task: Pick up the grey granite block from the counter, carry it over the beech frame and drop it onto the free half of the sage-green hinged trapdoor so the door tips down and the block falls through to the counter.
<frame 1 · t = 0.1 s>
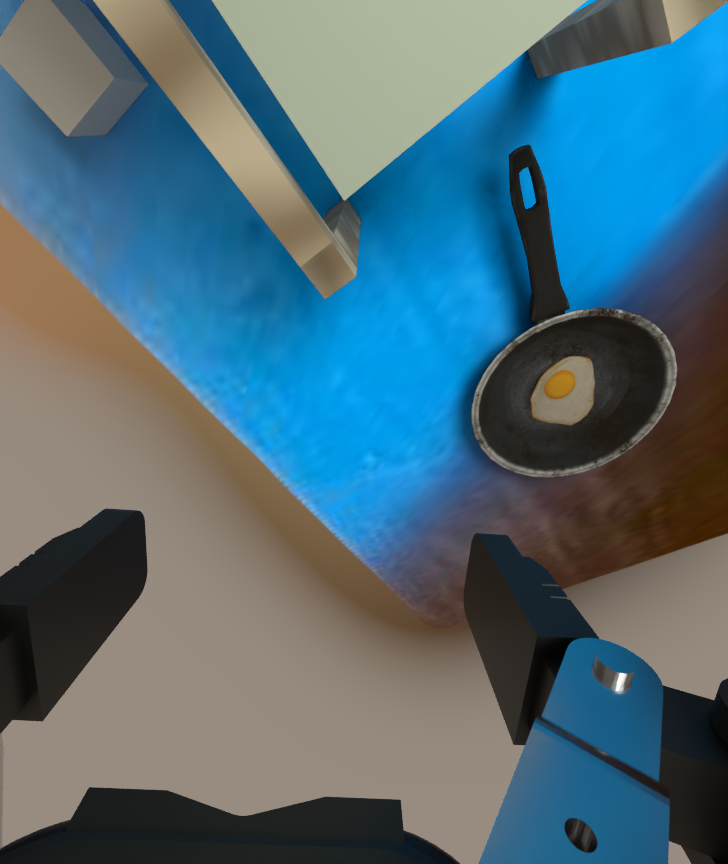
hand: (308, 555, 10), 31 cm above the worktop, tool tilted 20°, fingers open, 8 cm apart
frame: (364, 3, 27), on the worktop
frying pan: (545, 331, 40), on the worktop
cube: (96, 73, 30), on the worktop
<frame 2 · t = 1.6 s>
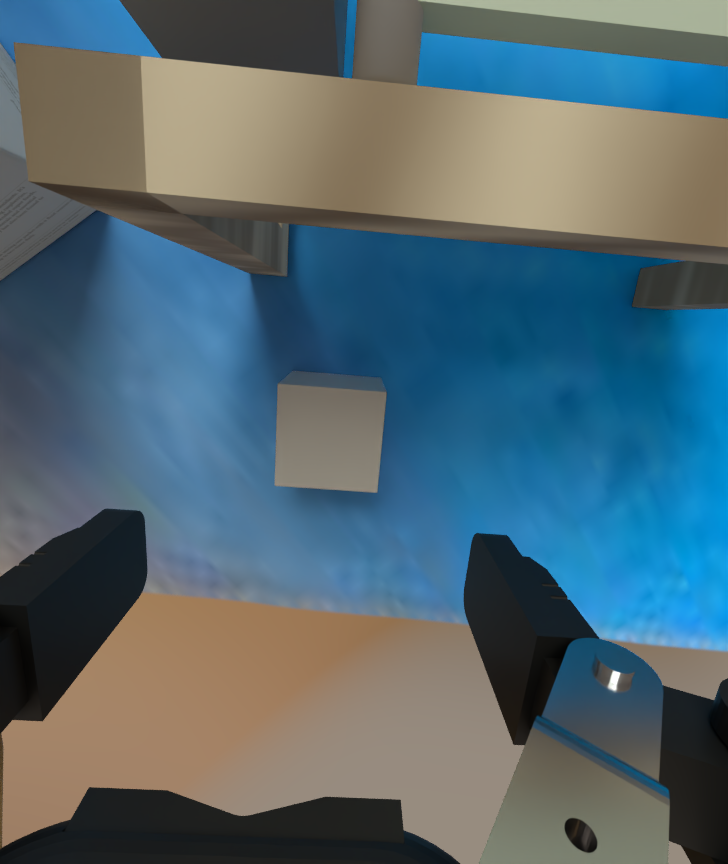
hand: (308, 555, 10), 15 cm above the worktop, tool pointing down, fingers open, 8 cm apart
frame: (519, 91, 21), on the worktop
cube: (334, 416, 25), on the worktop
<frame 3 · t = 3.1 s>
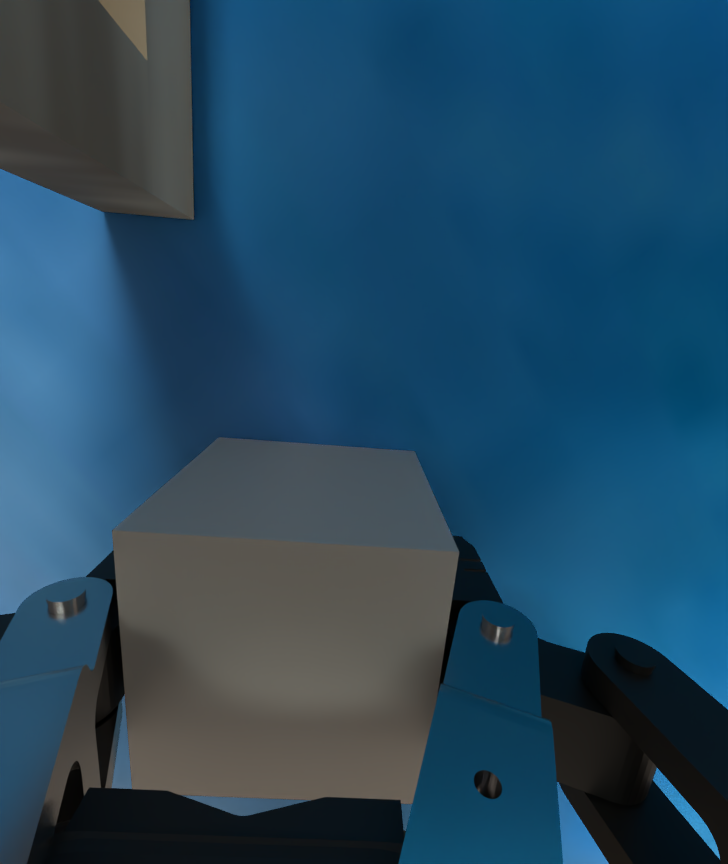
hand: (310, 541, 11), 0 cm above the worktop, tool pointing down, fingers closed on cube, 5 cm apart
cube: (313, 531, 12), on the worktop, touching gripper
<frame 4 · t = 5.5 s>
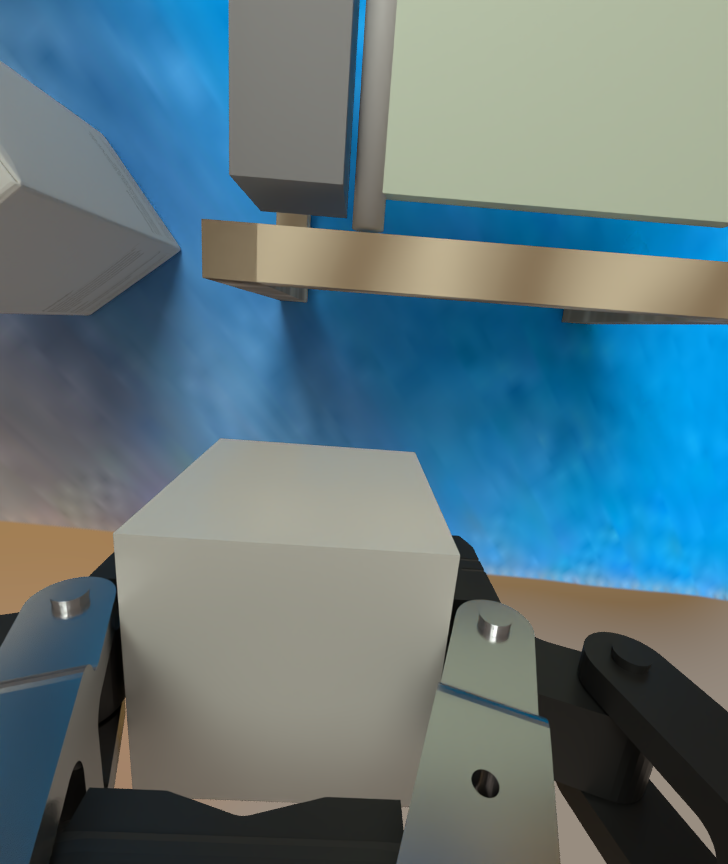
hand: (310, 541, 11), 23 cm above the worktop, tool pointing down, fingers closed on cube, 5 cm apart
frame: (472, 171, 29), on the worktop
trapdoor: (499, 42, 16), point 14 cm above the worktop, hinge at 0.0°
supplement box: (96, 229, 30), on the worktop
cube: (313, 533, 12), point 22 cm above the worktop, touching gripper
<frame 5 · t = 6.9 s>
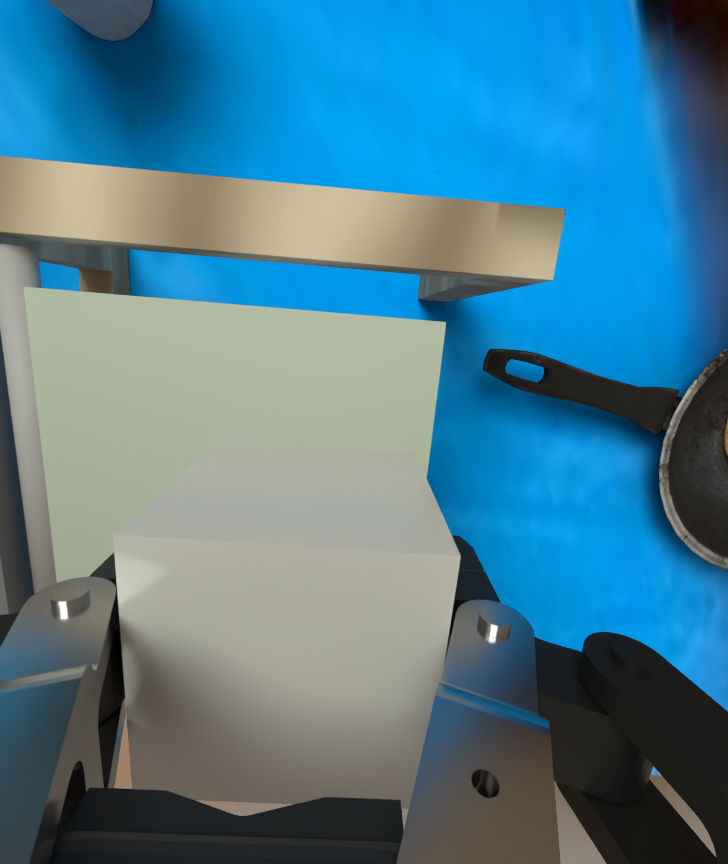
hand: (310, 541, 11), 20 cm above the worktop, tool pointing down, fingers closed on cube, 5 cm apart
frame: (293, 400, 30), on the worktop
frying pan: (676, 415, 31), on the worktop
trapdoor: (181, 457, 17), point 14 cm above the worktop, hinge at 0.0°
cube: (313, 533, 12), point 19 cm above the worktop, touching gripper
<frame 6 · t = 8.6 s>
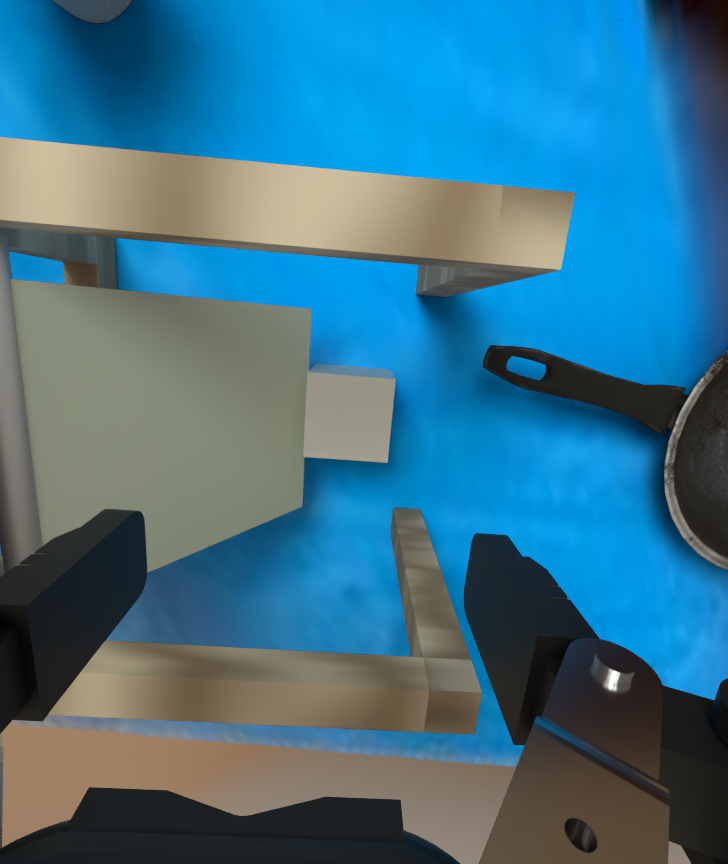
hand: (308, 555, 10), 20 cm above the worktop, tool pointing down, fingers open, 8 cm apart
frame: (287, 399, 29), on the worktop
frying pan: (681, 413, 30), on the worktop
trapdoor: (126, 432, 19), point 11 cm above the worktop, hinge at -53.0°, touching cube
cube: (309, 406, 27), point 2 cm above the worktop, tilted 90°, touching trapdoor
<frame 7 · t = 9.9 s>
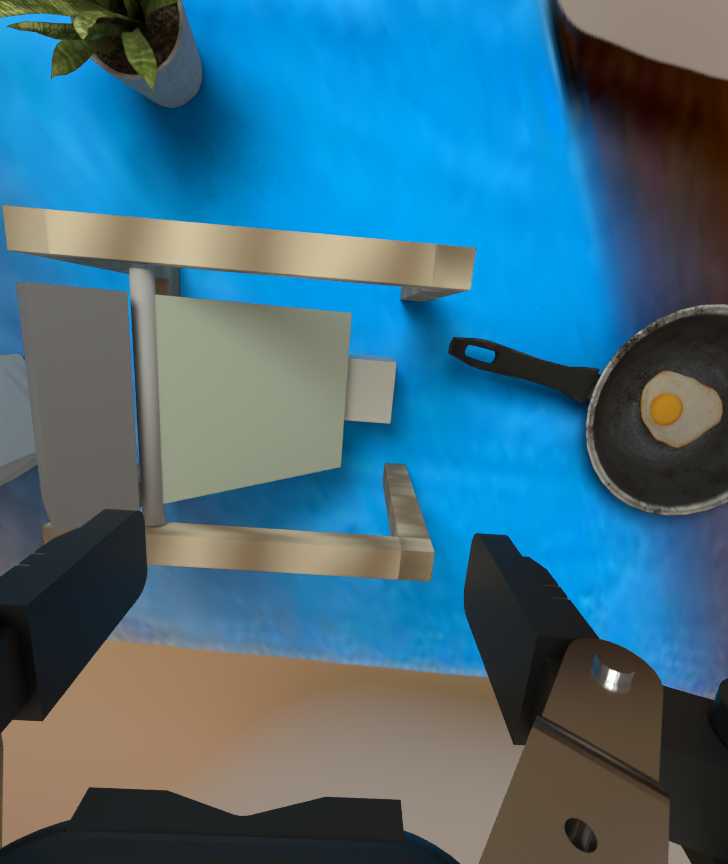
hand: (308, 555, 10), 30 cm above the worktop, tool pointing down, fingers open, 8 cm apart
frame: (304, 378, 39), on the worktop
frying pan: (603, 390, 40), on the worktop
trapdoor: (215, 395, 28), point 11 cm above the worktop, hinge at -40.4°
house plant: (182, 57, 33), on the worktop
supplement box: (18, 417, 40), on the worktop
cube: (332, 384, 37), point 2 cm above the worktop, tilted 90°
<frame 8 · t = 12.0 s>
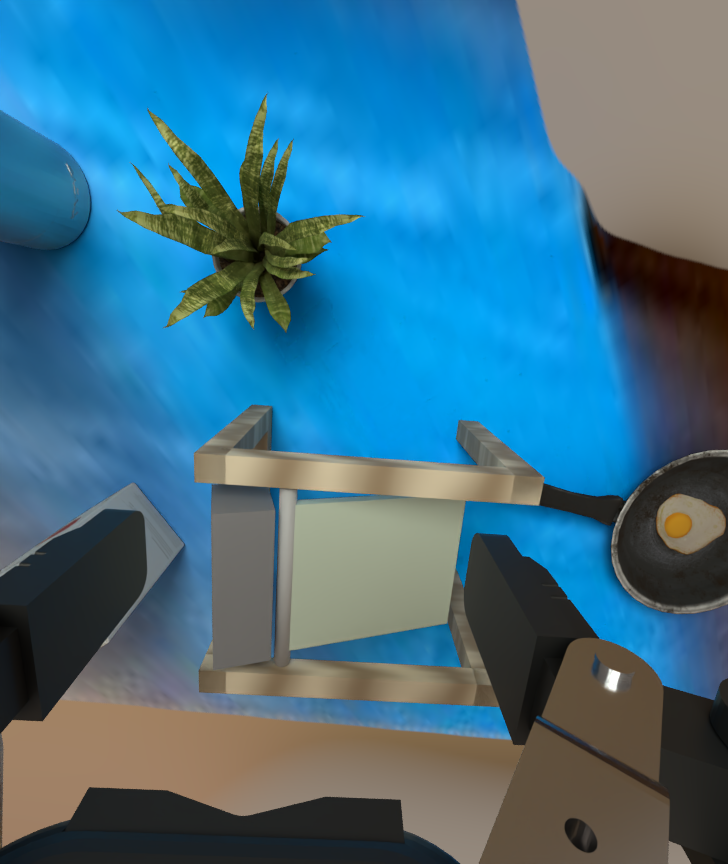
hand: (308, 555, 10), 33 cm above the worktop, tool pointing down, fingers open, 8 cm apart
frame: (372, 500, 46), on the worktop
frying pan: (624, 507, 47), on the worktop
trapdoor: (339, 561, 34), point 12 cm above the worktop, hinge at -17.4°
house plant: (283, 255, 40), on the worktop
supplement box: (129, 531, 47), on the worktop
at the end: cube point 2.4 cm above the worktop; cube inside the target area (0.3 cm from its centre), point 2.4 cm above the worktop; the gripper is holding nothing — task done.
